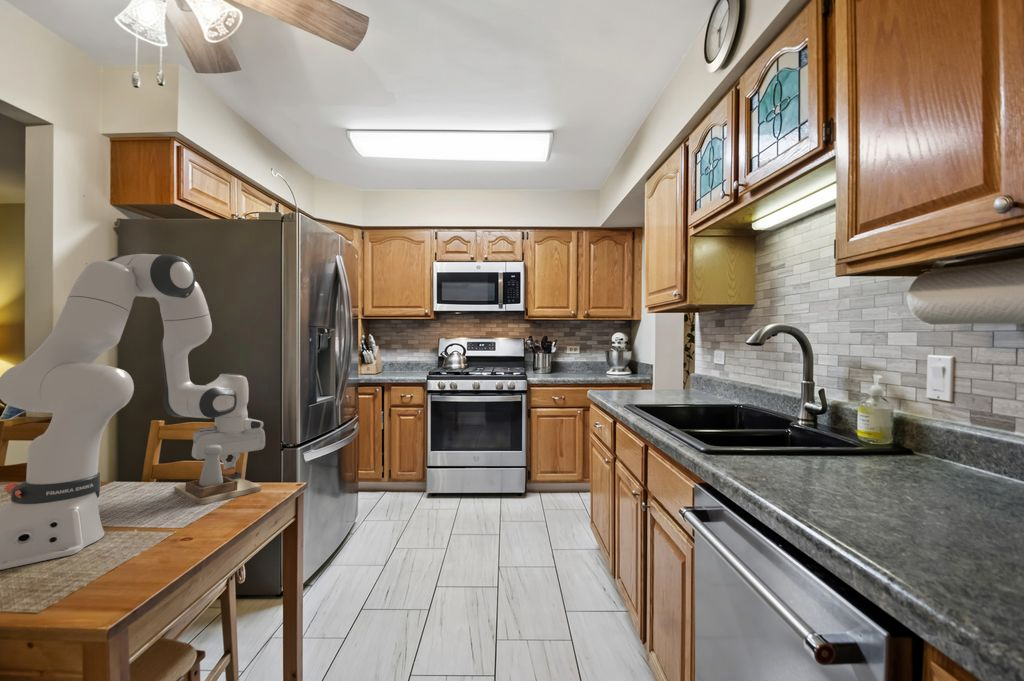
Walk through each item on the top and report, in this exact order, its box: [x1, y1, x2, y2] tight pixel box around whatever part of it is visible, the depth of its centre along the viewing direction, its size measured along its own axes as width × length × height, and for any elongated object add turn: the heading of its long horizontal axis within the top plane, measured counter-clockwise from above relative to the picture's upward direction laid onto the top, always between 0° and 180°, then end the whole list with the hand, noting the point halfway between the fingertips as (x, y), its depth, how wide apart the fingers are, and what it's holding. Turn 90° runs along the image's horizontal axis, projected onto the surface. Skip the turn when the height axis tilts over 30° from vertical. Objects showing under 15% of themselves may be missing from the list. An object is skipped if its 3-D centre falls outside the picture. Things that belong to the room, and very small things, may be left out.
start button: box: [222, 467, 236, 476], centre depth 142 cm, size 3×3×2 cm
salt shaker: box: [199, 445, 223, 488], centre depth 130 cm, size 6×6×13 cm
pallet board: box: [173, 470, 262, 506], centre depth 134 cm, size 16×18×4 cm
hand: (229, 468), depth 142 cm, fingers closed, pressing on start button
